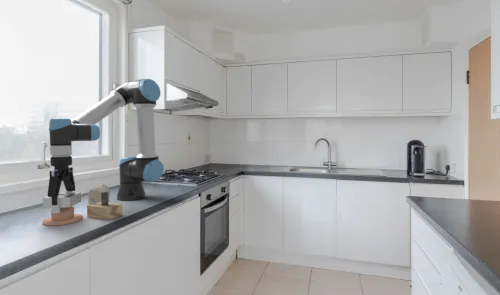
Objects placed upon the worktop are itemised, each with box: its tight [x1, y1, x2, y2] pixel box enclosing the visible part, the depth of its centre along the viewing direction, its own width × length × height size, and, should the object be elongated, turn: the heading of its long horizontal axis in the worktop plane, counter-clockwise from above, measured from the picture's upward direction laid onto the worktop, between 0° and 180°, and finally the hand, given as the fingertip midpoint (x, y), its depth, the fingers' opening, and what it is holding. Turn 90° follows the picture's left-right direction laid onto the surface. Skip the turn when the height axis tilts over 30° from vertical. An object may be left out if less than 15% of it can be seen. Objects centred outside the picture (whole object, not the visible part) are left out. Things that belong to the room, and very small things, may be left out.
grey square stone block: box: [42, 191, 82, 209], centre depth 122 cm, size 10×10×4 cm
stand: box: [86, 192, 123, 221], centre depth 129 cm, size 8×12×10 cm, turn 67°
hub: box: [42, 195, 84, 227], centre depth 122 cm, size 14×14×10 cm
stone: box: [87, 183, 111, 205], centre depth 143 cm, size 10×5×12 cm, turn 142°
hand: (63, 209), depth 122 cm, fingers closed on grey square stone block, 10 cm apart
